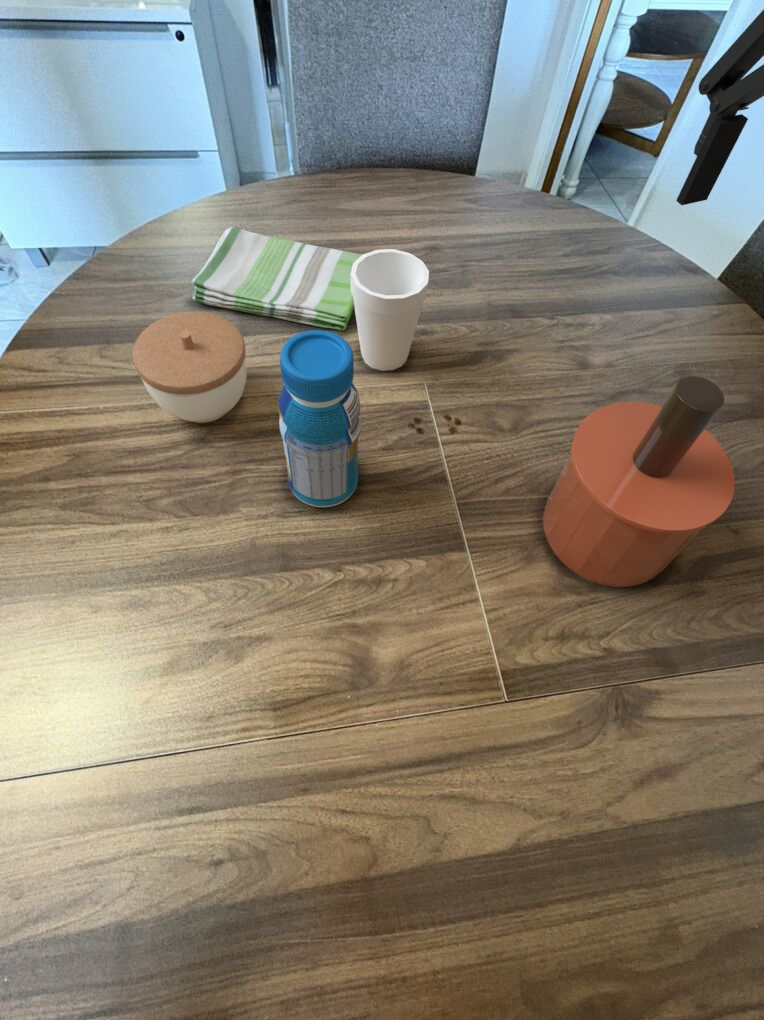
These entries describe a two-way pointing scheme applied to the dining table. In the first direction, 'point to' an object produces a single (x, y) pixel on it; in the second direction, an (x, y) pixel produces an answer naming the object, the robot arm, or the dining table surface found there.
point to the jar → (604, 538)
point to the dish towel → (278, 279)
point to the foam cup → (387, 304)
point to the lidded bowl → (192, 365)
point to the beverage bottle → (319, 417)
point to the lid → (657, 460)
